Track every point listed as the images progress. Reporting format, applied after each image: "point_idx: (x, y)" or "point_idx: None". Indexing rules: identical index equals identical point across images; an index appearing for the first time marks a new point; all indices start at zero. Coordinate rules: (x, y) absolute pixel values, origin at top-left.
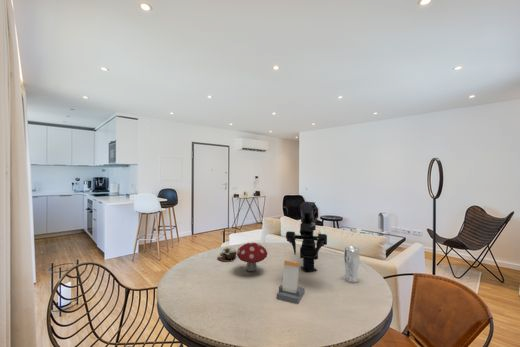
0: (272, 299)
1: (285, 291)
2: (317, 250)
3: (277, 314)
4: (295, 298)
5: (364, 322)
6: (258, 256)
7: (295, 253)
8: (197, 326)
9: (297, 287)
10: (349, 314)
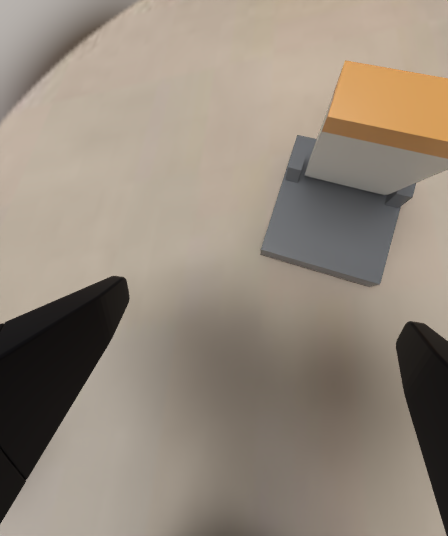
0: None
1: (366, 193)
2: (46, 307)
3: (378, 61)
4: (310, 138)
5: (69, 84)
6: None
7: (403, 352)
8: None
9: (306, 171)
10: (103, 118)
